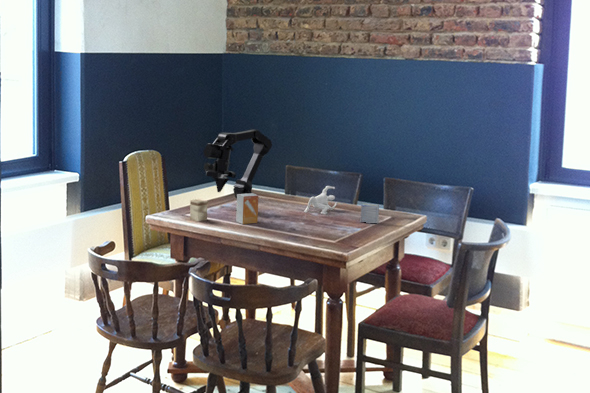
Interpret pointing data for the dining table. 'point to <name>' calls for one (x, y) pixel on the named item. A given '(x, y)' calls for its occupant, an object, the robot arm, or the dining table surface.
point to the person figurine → (322, 201)
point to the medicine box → (369, 213)
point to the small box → (247, 208)
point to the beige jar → (198, 209)
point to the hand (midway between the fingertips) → (218, 192)
